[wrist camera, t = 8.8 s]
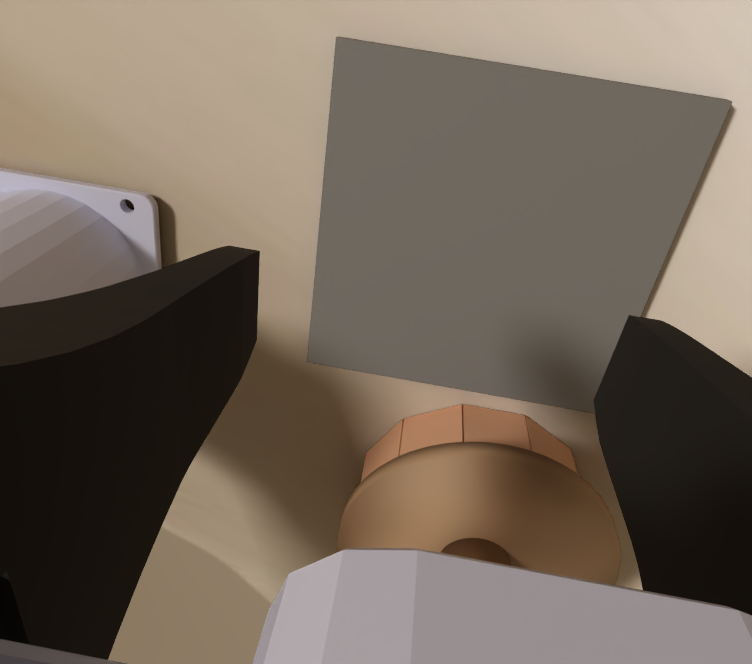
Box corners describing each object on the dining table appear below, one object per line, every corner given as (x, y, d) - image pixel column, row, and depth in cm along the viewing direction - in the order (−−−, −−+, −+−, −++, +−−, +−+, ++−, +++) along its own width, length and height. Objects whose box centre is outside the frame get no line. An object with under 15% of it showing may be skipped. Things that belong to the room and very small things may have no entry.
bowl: (350, 544, 30) (339, 606, 27) (376, 388, 25) (366, 443, 22) (544, 580, 29) (554, 647, 26) (612, 430, 24) (635, 492, 21)
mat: (309, 356, 24) (307, 362, 24) (338, 36, 18) (336, 37, 18) (596, 408, 24) (598, 414, 23) (727, 99, 18) (732, 101, 17)
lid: (328, 602, 27) (308, 700, 23) (356, 417, 21) (335, 508, 17) (567, 647, 26) (585, 754, 23) (660, 471, 21) (705, 576, 17)
